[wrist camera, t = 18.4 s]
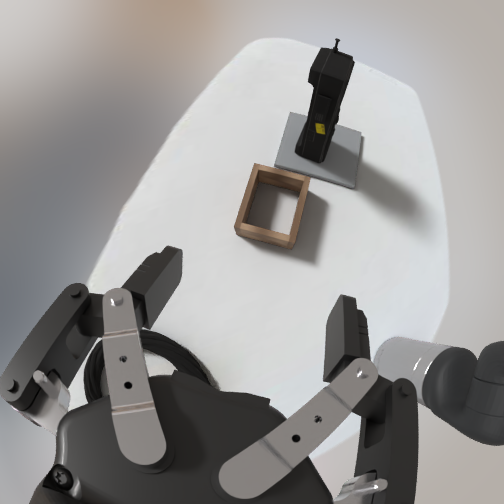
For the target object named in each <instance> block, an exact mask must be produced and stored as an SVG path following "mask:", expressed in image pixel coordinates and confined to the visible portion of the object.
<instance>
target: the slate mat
mask: <svg viewBox="0 0 504 504" xmlns="http://www.w3.org/2000/svg"><path fill="white" fill-rule="evenodd" d="M307 117H308V116H305V115H301V114H297V113H293V112H290V114H289V117H288V120H287V124H286V127H285V130H284V134H283V137H282V140H281V144H280V147H279V151H278V154H277V157H276V161H275V164H274V167H278V168H282V169H286V170H290V171H294V172H298V173H301V174H305V175H309V176H312V177H316V178H319V179H323V180H326V181H329V182H333V183H336V184H339V185H342V186H345V187H349V188H352V189H354V187H355V182H356V175H357V167H358V159H359V151H360V141H361V132H359V131H356V130H353V129H350V128H347V127H344V126H340V125H337V124H336V125H335V132H334V135H333V136H332V140H331V143H330V146H329V149H328V152H327V155H326V158H325V160H324V162H321V163H316V162H314V161H311V160H308V159H306V158H303V157H301V156H299V155H297V154H296V153H295V152H294V151H295V146H296V143H297V141H298V138H299V136H300V134H301V132H302V129H303V127H304V124H305V122H306V121H307Z"/></svg>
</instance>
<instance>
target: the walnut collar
mask: <svg viewBox="0 0 504 504" xmlns="http://www.w3.org/2000/svg"><path fill="white" fill-rule="evenodd" d="M259 182H262V183H266V184H270V185H274V186H278V187H282V188H286V189H289V190H293V191H297V192H300V195H299V199H298V203H297V207H296V211H295V215H294V219H293V223H292V227H291V231H290V234H289V235H286V234H282V233H279V232H275V231H271V230H268V229H264V228H260V227H256V226H253V225H249V224H246V222H247V218H248V215H249V212H250V208H251V205H252V202H253V199H254V195H255V192H256V189H257V186H258V183H259ZM309 183H310V177H307V176H303V175H300V174H296V173H292V172H288V171H284V170H280V169H276V168H272V167H268V166H264V165H260V164H256V163H254V166H253V169H252V172H251V175H250V178H249V181H248V184H247V187H246V190H245V194H244V197H243V200H242V203H241V206H240V209H239V212H238V216H237V219H236V222H235V225H234V228H235V231H236V234H237V235H240V236H244V237H247V238H251V239H255V240H258V241H262V242H266V243H269V244H273V245H277V246H280V247H284V248H288V249H292V248H293V246H294V244H295V241H296V237H297V233H298V229H299V225H300V221H301V216H302V212H303V208H304V204H305V200H306V196H307V191H308V187H309Z"/></svg>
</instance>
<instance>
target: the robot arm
mask: <svg viewBox="0 0 504 504" xmlns="http://www.w3.org/2000/svg"><path fill="white" fill-rule="evenodd" d="M182 255H183V253H182V250H181V249H178V248H175V247H172V246H166V247H165V249H164V250H163V251H162V252H161V253H157V252H156V253H154V254H152V255H150V256H148V257H147V258H146V259H145V260H144V261H143V262H142V265H140V266H139V267H138V268H137V270H136V271H135V272H134V273H133V274H132V275H131V276H130V278H129V279H128V280H127V281H126V282H125V283H124V285H123V286H122V287H121V288H114V289H111V290H109V291H108V292H106V293H105V295H103V294H94V293H89V291H88V288H87V287H86V286H85V285H84V284H81V283H75V284H71V285H69V286H68V287H66V288H65V289H64V291H63V292H62V293H61V294H60V295H59V297H58V298H57V299H56V300H55V302H54V303H53V304H52V305H51V306H50V308H49V309H48V310H47V311H46V313H45V314H44V315H43V317H42V318H41V319H40V320H39V322H38V323H37V325H36V326H35V327H34V328H33V330H32V331H31V333H30V334H29V335H28V336H27V338H26V339H25V341H24V342H23V344H22V345H21V347H20V348H19V349H18V351H17V352H16V354H15V355H14V357H13V358H12V360H11V361H10V363H9V364H8V366H7V368H6V369H5V371H4V372H3V374H2V376H1V377H0V395H1V396H2V398H3V399H4V400H6V401H7V402H8V403H9V404H10V405H11V406H12V407H13V408H14V409H15V410H16V411H17V412H19V413H20V414H21V415H22V416H24V417H25V418H26V419H28V420H30V421H31V422H33V423H34V424H36V425H37V426H41V427H44V428H45V429H47V430H48V431H49V432H51V433H52V434H54V435H55V436H56V457H55V461H54V464H53V467H52V468H51V470H50V471H49V473H48V474H47V475H46V477H44V479H43V480H42V481H41V482H40V483H39V485H38V486H37V488H36V489H35V491H34V494H33V496H32V498H31V500H30V503H29V504H414V500H415V492H416V482H417V469H418V468H417V467H418V403H420V404H422V405H424V406H426V407H428V408H429V409H431V411H432V412H433V413H434V414H435V415H436V416H438V417H439V418H441V419H442V420H444V421H445V422H447V423H449V424H450V425H451V426H452V427H454V428H455V429H457V430H458V431H460V432H461V433H463V434H464V435H466V436H467V437H469V438H471V439H473V440H475V441H478V442H480V443H483V444H487V445H494V446H500V445H504V341H500V342H496V343H492V344H490V345H488V346H486V347H485V348H484V349H483V350H482V352H481V354H480V356H479V358H478V360H477V358H476V356H475V355H474V354H473V353H472V352H471V351H470V350H468V349H465V348H459V347H453V346H447V345H441V344H435V343H430V342H424V341H419V340H413V339H409V338H403V337H394V338H391V339H389V340H387V341H386V342H384V343H383V344H382V345H381V347H380V348H379V349H378V351H377V353H376V355H375V359H374V363H372V362H371V359H370V346H369V336H368V329H367V328H368V326H367V318H366V317H365V315H364V313H363V311H362V310H358V309H357V304H356V298H353V297H350V296H346V295H342V294H341V295H340V296H339V298H338V300H337V302H336V304H335V305H334V307H333V309H332V311H331V313H330V315H329V317H328V320H327V324H326V342H325V360H324V375H323V381H324V382H329V383H330V384H329V385H328V386H327V387H325V388H323V389H322V390H321V391H320V392H319V393H318V394H317V395H315V396H314V397H313V398H312V399H311V400H310V401H309V402H307V403H306V404H305V405H304V406H303V407H302V408H300V409H299V410H298V411H297V412H296V413H294V414H293V415H292V416H291V417H289V418H288V419H287V418H286V417H285V416H284V415H283V414H282V413H281V412H279V411H278V410H277V409H275V408H274V407H272V406H270V405H269V403H270V399H269V398H265V397H261V396H257V395H253V394H249V393H239V392H223V391H219V390H217V389H215V388H213V387H212V386H210V385H208V384H207V383H205V382H203V381H202V380H200V379H199V378H197V377H194V376H191V375H188V374H185V373H183V372H180V371H177V370H174V372H173V374H172V375H156V376H151V377H149V373H148V370H147V366H146V362H145V357H144V353H143V348H142V343H141V338H140V333H139V332H140V330H141V329H142V327H144V328H147V329H149V330H150V329H151V327H152V326H153V324H154V322H155V321H156V319H157V318H158V316H159V314H160V313H161V311H162V310H163V308H164V307H165V305H166V303H167V302H168V300H169V299H170V297H171V296H172V294H173V293H174V291H175V289H176V288H177V286H178V285H179V283H180V280H181V277H182ZM98 337H101V338H102V341H103V351H104V360H105V368H106V375H107V382H108V388H109V394H110V395H107V396H105V397H103V398H100V399H98V400H95V401H93V402H90V403H88V404H85V405H83V406H80V407H78V408H75V409H73V410H71V411H69V412H68V407H69V403H70V392H69V390H68V388H69V386H70V384H71V382H72V380H73V379H74V377H75V375H76V373H77V372H78V370H79V368H80V366H81V365H82V363H83V361H84V360H85V358H86V356H87V355H88V353H89V351H90V350H91V348H92V346H93V345H94V343H95V342H96V340H97V338H98ZM417 402H418V403H417ZM351 412H353V413H355V414H357V415H359V416H361V427H360V437H359V445H358V453H357V461H356V467H355V473H354V478H351V479H349V480H348V481H347V482H345V483H344V485H343V486H342V489H341V491H340V493H339V495H338V496H337V497H336V498H335V499H334V500H333V498H332V495H331V493H330V492H329V490H328V488H327V486H326V485H325V483H324V482H323V480H322V478H321V477H320V475H319V473H318V471H317V470H316V468H315V466H314V465H313V463H312V461H311V460H310V458H309V456H308V455H309V454H310V453H311V452H312V451H313V450H314V449H316V448H317V447H318V446H319V445H320V444H321V443H322V442H323V441H324V440H325V439H326V438H327V437H328V436H329V435H330V434H331V433H332V432H333V431H334V430H335V429H336V428H337V427H338V426H339V425H340V424H341V423H342V422H343V421H344V420H345V419H346V418H347V416H348V415H349V414H350V413H351Z"/></svg>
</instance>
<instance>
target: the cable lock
mask: <svg viewBox="0 0 504 504" xmlns="http://www.w3.org/2000/svg"><path fill="white" fill-rule="evenodd" d="M139 333H140V338H141V343H142V348H144V349H148V350H150V351H152V352H154V353H156V354H158V355H160V356H162V357H164V358H166V359H167V360H168V361H170V362H171V363H172V364H173V365H174V366H175V367H176V369H177V370H178V371H180V372H183V373H185V374H188V375H191V376H194V377H197V378H199V379H200V380H202V381H203V382H205V383H207V384H208V385H210V383H209V381H208V378H207V376H206V375H205V373H204V372H203V371H202V369H201V368H200V366H199V364H198V362H197V361H196V360H195V359H194V358H193V357H192V355H191V354H190V353H189V352H187V351H186V350H185V349H184V348H183V347H182V346H181V345H179V344H177V343H176V342H174V341H173V340H171V339H170V338H168V337H166V336H164V335H162V334H160V333H157V332H153V331H149V330H143V329H141V330H140V332H139ZM104 364H105V360H104V351H103V341H102V340H101V341H99V342H98V343H97V344H96V346H95V347H94V349H93V350H92V352H91V354H90V356H89V357H88V360H87V363H86V366H85V369H84V389H85V395H86V399H87V401H88V403H90V402H93V401H95V400H98V399H100V398H102V395H101V389H100V377H101V372H102V369H103V367H104ZM210 386H211V385H210Z"/></svg>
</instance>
